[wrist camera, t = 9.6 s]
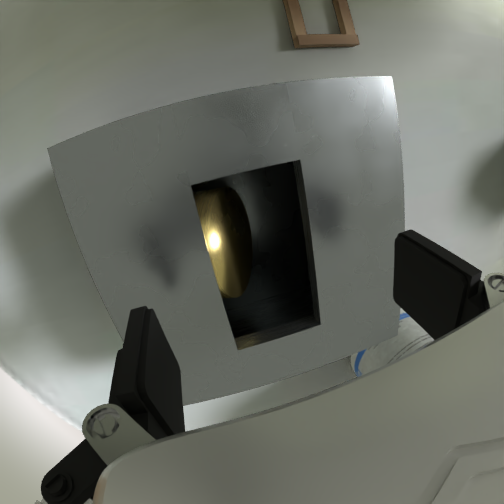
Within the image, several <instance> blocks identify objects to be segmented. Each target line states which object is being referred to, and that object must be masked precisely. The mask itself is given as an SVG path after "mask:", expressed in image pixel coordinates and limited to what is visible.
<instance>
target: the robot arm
mask: <svg viewBox="0 0 504 504" xmlns="http://www.w3.org/2000/svg"><path fill="white" fill-rule="evenodd" d="M481 273H482V271H480V270H479V269H477V268H476V267H474V266H473V265H471V264H469V263H468V262H466V261H465V260H463V259H461V258H460V257H458V256H456V255H455V254H453V253H451V252H450V251H448V250H446V249H445V248H443V247H441V246H440V245H438V244H436V243H435V242H433V241H431V240H429V239H428V238H426V237H424V236H422V235H421V234H419V233H417V232H415V231H413V230H407V231H404V232H401V233H399V234H398V235H397V238H396V239H395V242H394V280H393V299H394V301H395V303H396V304H397V305H398V306H400V307H401V308H402V309H403V310H404V311H405V312H406V313H407V314H408V315H409V316H410V317H411V318H412V319H413V320H414V321H415V322H416V323H417V324H419V325H420V326H421V327H422V328H423V329H424V330H425V331H426V332H427V333H428V334H429V335H430V336H431V337H432V338H433V339H434V341H433V342H431V343H429V344H427V345H425V346H423V347H421V348H419V349H417V350H415V351H413V352H411V353H409V354H407V355H405V356H403V357H401V358H399V359H397V360H395V361H393V362H391V363H389V364H386V365H384V366H382V367H380V368H378V369H375V370H373V371H371V372H369V373H366V374H364V375H362V376H359V377H357V378H355V379H352V380H350V381H347V382H345V383H342V384H340V385H337V386H335V387H332V388H329V389H327V390H324V391H322V392H319V393H316V394H313V395H311V396H308V397H305V398H302V399H299V400H296V401H293V402H290V403H287V404H284V405H281V406H278V407H275V408H272V409H268V410H265V411H262V412H258V413H255V414H251V415H248V416H244V417H241V418H237V419H234V420H230V421H226V422H222V423H218V424H214V425H210V426H206V427H202V428H198V429H194V430H190V431H186V432H185V424H184V413H183V400H182V385H181V371H180V366H179V364H178V361H177V359H176V357H175V355H174V353H173V351H172V349H171V347H170V345H169V342H168V340H167V338H166V336H165V334H164V332H163V329H162V327H161V325H160V323H159V320H158V318H157V316H156V314H155V311H154V310H153V309H152V308H151V309H148V308H147V306H142V307H139V308H135V309H131V310H130V314H129V319H128V323H127V328H126V333H125V339H124V344H123V349H120V350H119V351H118V353H117V357H116V362H115V367H114V373H113V378H112V384H111V390H110V397H109V403H108V404H103V405H100V406H97V407H96V408H94V409H93V410H91V411H90V412H89V413H88V414H87V416H86V417H85V419H84V421H83V425H82V432H83V434H84V436H85V438H86V439H85V440H84V441H82V442H81V443H80V444H79V445H78V446H77V447H76V448H75V449H73V450H72V451H71V452H70V453H69V454H68V455H67V456H66V457H64V458H63V459H62V460H61V461H60V462H59V463H58V464H57V465H56V466H55V467H53V468H52V469H51V470H50V471H49V472H48V473H47V474H46V475H45V476H44V478H43V480H42V484H41V493H42V496H43V499H42V501H41V502H39V501H38V500H37V501H36V503H35V504H504V274H502V273H491V274H488V275H487V276H485V278H484V281H481V280H480V278H481Z"/></svg>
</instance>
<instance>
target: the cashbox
mask: <svg viewBox="0 0 504 504" xmlns="http://www.w3.org/2000/svg"><path fill="white" fill-rule="evenodd" d="M47 149H48V153H49V157H50V161H51V164H52V168H53V171H54V175H55V178H56V182H57V185H58V188H59V191H60V194H61V198H62V201H63V204H64V207H65V210H66V212H67V215H68V218H69V221H70V224H71V227H72V229H73V232H74V235H75V237H76V240H77V242H78V245H79V247H80V250H81V252H82V255H83V257H84V260H85V262H86V265H87V267H88V269H89V272H90V274H91V276H92V278H93V281H94V283H95V285H96V287H97V290H98V292H99V294H100V296H101V298H102V300H103V302H104V304H105V306H106V309H107V311H108V313H109V315H110V317H111V319H112V321H113V323H114V324H115V326H116V328H117V330H118V332H119V334H120V336H121V338H122V340H123V341H124V339H125V333H126V328H127V323H128V319H129V314H130V310H131V309H135V308H139V307H142V306H147V308H148V309H151V308H152V309H153V310H154V311H155V314H156V316H157V318H158V320H159V323H160V325H161V327H162V329H163V332H164V334H165V336H166V338H167V340H168V342H169V345H170V347H171V349H172V351H173V353H174V355H175V357H176V359H177V361H178V364H179V366H180V371H181V385H182V400H183V406H185V405H189V404H194V403H199V402H203V401H207V400H211V399H216V398H220V397H224V396H228V395H231V394H235V393H239V392H243V391H246V390H250V389H253V388H257V387H260V386H264V385H267V384H270V383H274V382H277V381H280V380H283V379H286V378H289V377H292V376H296V375H299V374H301V373H304V372H307V371H310V370H313V369H316V368H319V367H321V366H324V365H327V364H330V363H332V362H335V361H338V360H340V359H343V358H345V357H348V356H350V355H353V354H355V353H358V352H360V351H363V350H365V349H368V348H370V347H372V346H375V345H377V344H379V343H382V342H384V341H386V340H388V339H391V338H393V337H395V336H397V335H398V328H399V319H400V309H401V307H400V306H398V305H397V304H396V303H395V301H394V299H393V280H394V242H395V239H396V238H397V235H398V234H399V233H401V232H404V231H405V214H404V181H403V164H402V151H401V140H400V130H399V122H398V114H397V106H396V99H395V93H394V87H393V81H392V76H365V77H339V78H324V79H312V80H301V81H292V82H284V83H276V84H269V85H262V86H255V87H249V88H243V89H238V90H232V91H227V92H222V93H217V94H212V95H208V96H203V97H199V98H195V99H190V100H186V101H182V102H178V103H175V104H171V105H167V106H163V107H160V108H156V109H153V110H150V111H146V112H143V113H140V114H136V115H133V116H130V117H127V118H124V119H121V120H118V121H115V122H112V123H109V124H107V125H104V126H101V127H98V128H96V129H93V130H90V131H88V132H85V133H83V134H80V135H78V136H75V137H73V138H70V139H68V140H66V141H63V142H61V143H59V144H56V145H54V146H52V147H50V148H47ZM222 187H230V188H232V189H234V190H235V191H236V192H237V193H238V195H239V196H240V198H241V200H242V202H243V204H244V206H245V209H246V212H247V215H248V219H249V223H250V228H251V235H252V249H253V257H252V269H251V275H250V279H249V283H248V286H247V288H246V290H245V291H244V293H243V294H242V295H241V296H240V297H237V298H222V296H221V293H220V289H219V286H218V282H217V279H216V275H215V272H214V268H213V265H212V261H211V258H210V254H209V251H208V247H207V243H206V240H205V236H204V233H203V229H202V225H201V222H200V218H199V214H198V210H197V206H196V203H195V199H194V195H193V192H198V191H204V190H210V189H216V188H222Z"/></svg>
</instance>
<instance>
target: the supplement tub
mask: <svg viewBox="0 0 504 504" xmlns="http://www.w3.org/2000/svg"><path fill="white" fill-rule="evenodd" d="M433 341H434V339H433V338H432V337H431V336H430V335H429V334H428V333H427V332H426V331H425V330H424V329H423V328H422V327H421V326H420V325H419V324H417V323H416V322H415V321H414V320H413V319H412V318H411V317H410V316H409V315H408V314H407V313H406V312H405V311H404V310H403V309H402V308H401V309H400V319H399V328H398V335H397V336H395V337H393V338H391V339H388V340H386V341H384V342H382V343H379V344H377V345H375V346H372V347H370V348H368V349H365V350H363V351H360V352H358V353H355V354H353V355H351V366H352V369H353V371H354V372H355V374H356V375H357V377H359V376H362V375H364V374H366V373H369V372H371V371H373V370H375V369H378V368H380V367H382V366H384V365H386V364H389V363H391V362H393V361H395V360H397V359H399V358H401V357H403V356H405V355H407V354H409V353H411V352H413V351H415V350H417V349H419V348H421V347H423V346H425V345H427V344H429V343H431V342H433Z"/></svg>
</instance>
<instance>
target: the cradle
mask: <svg viewBox="0 0 504 504" xmlns="http://www.w3.org/2000/svg"><path fill="white" fill-rule="evenodd" d="M332 2H333V5H334V9H335V12H336V16H337V20H338V24H339V28H340V32H341V34H309V35H307V33H306V29H305V25H304V21H303V17H302V13H301V9H300V5H299V2H298V0H283V3H284V6H285V10H286V14H287V18H288V22H289V26H290V30H291V35H292V39H293V43H294V47H295V48H309V47H354V46H356V45H359V40H358V35H356V33H355V29H354V25H353V21H352V17H351V14H350V10H349V6H348V3H347V0H332Z"/></svg>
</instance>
